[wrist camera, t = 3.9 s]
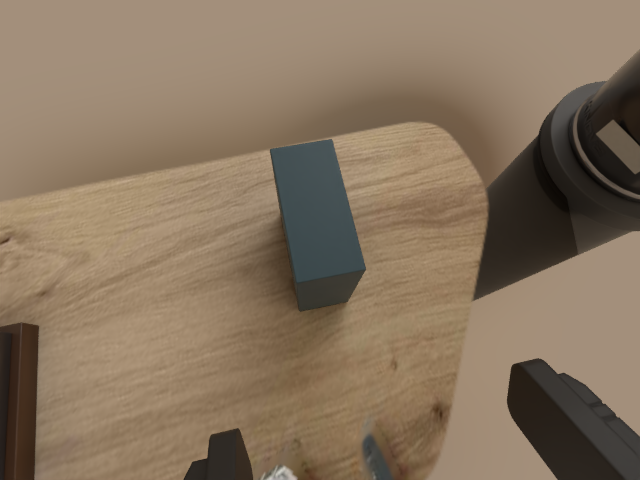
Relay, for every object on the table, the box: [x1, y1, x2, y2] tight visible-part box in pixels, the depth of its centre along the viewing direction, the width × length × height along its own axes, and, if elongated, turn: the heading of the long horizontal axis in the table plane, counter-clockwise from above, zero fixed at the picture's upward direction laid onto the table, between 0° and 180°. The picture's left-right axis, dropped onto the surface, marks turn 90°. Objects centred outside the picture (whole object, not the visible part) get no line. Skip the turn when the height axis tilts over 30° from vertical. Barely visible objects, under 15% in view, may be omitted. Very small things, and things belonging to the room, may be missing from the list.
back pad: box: [270, 139, 366, 312], centre depth 22 cm, size 3×7×8 cm, turn 12°
